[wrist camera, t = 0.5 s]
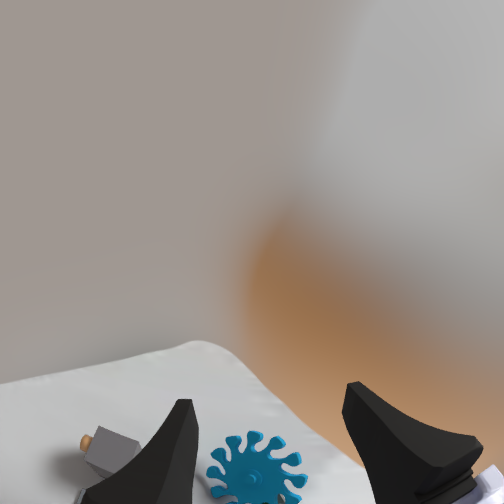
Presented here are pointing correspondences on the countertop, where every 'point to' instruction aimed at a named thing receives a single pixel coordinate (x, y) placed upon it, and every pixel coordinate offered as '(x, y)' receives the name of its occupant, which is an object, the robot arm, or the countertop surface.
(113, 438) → the grey knobbed block
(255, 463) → the gear
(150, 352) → the countertop surface
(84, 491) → the motor mount
